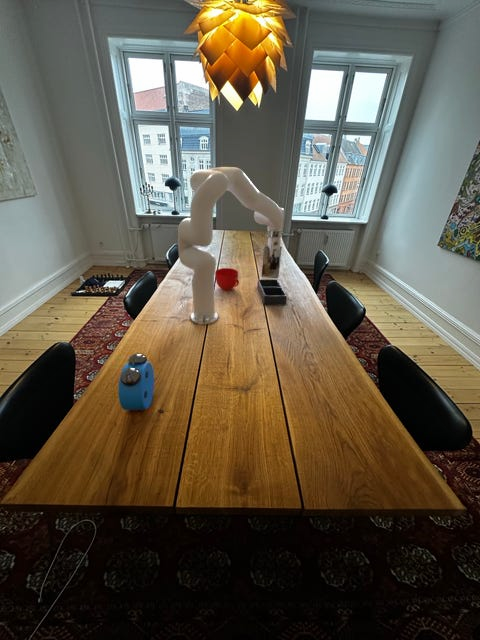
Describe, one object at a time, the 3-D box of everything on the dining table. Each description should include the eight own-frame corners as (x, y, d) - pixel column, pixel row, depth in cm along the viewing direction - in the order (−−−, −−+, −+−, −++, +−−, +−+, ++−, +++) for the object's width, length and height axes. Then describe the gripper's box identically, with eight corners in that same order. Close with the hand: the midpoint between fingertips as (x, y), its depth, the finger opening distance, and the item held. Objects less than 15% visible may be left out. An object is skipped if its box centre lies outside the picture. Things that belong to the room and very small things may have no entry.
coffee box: (279, 275, 144) (282, 246, 136) (277, 279, 139) (280, 249, 131) (263, 273, 146) (265, 244, 138) (261, 276, 141) (263, 247, 133)
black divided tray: (285, 304, 134) (287, 295, 131) (263, 305, 132) (264, 296, 130) (276, 287, 153) (277, 279, 150) (257, 287, 152) (257, 279, 149)
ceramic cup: (228, 297, 139) (228, 280, 133) (211, 287, 150) (210, 270, 145) (246, 291, 146) (247, 275, 141) (228, 282, 157) (228, 266, 152)
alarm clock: (137, 385, 81) (128, 347, 73) (157, 385, 81) (150, 347, 74) (124, 421, 70) (112, 380, 62) (147, 420, 70) (138, 379, 63)
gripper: (285, 237, 124) (281, 272, 133) (277, 230, 139) (274, 261, 148) (270, 237, 123) (267, 272, 132) (264, 230, 138) (261, 261, 147)
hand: (271, 266), depth 140 cm, fingers closed on coffee box, 8 cm apart
